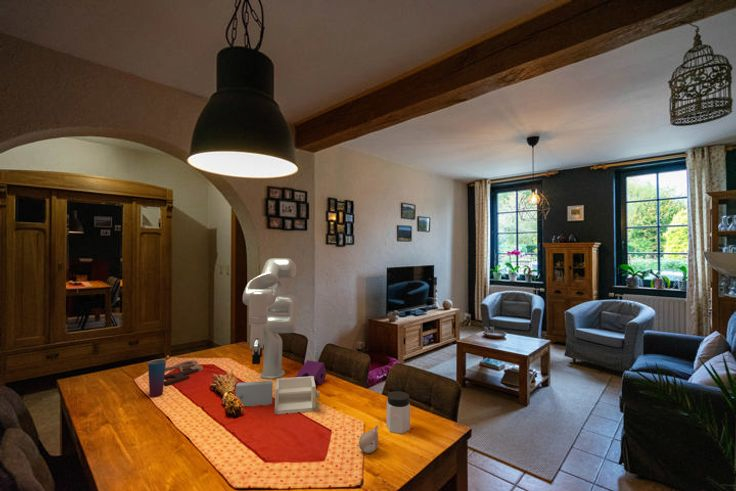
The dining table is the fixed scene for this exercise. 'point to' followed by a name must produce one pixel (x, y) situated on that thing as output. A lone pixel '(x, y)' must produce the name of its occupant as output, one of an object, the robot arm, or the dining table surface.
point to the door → (255, 393)
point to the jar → (398, 412)
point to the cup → (156, 377)
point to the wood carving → (182, 372)
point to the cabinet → (296, 395)
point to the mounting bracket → (313, 371)
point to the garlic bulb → (369, 441)
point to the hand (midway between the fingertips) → (257, 360)
